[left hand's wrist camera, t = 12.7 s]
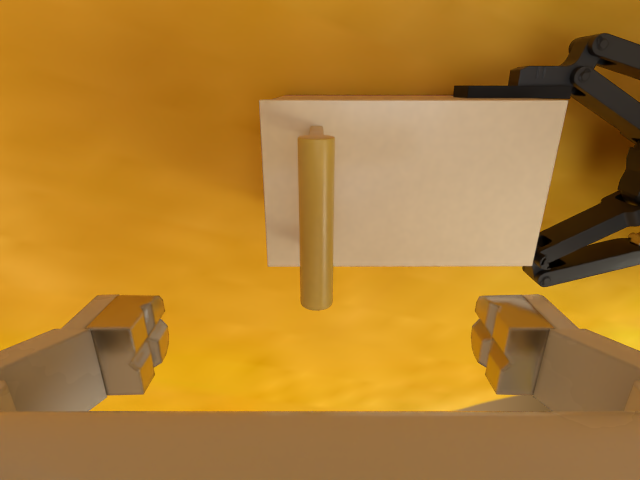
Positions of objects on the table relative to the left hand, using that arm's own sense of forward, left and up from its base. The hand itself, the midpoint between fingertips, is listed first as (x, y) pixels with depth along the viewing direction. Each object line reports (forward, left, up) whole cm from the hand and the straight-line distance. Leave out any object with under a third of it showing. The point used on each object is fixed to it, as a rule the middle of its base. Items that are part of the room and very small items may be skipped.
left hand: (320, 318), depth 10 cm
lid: (+5, -1, -14) cm, 15 cm away
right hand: (+9, -3, -19) cm, 21 cm away
